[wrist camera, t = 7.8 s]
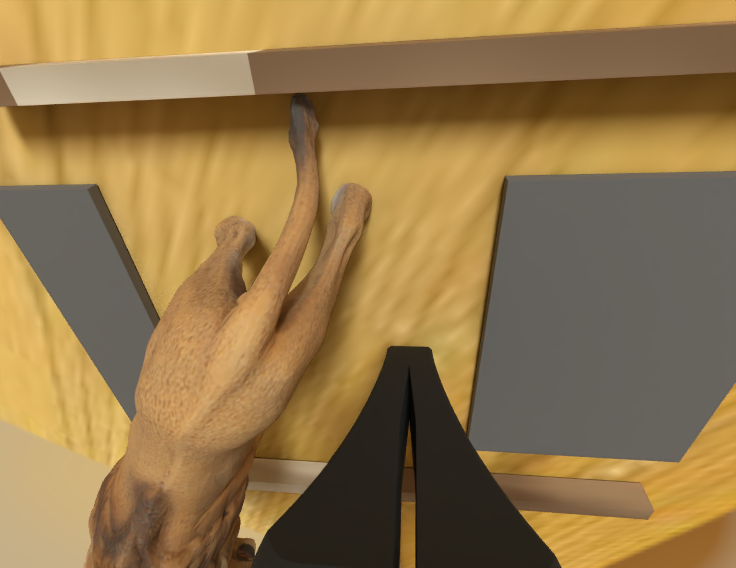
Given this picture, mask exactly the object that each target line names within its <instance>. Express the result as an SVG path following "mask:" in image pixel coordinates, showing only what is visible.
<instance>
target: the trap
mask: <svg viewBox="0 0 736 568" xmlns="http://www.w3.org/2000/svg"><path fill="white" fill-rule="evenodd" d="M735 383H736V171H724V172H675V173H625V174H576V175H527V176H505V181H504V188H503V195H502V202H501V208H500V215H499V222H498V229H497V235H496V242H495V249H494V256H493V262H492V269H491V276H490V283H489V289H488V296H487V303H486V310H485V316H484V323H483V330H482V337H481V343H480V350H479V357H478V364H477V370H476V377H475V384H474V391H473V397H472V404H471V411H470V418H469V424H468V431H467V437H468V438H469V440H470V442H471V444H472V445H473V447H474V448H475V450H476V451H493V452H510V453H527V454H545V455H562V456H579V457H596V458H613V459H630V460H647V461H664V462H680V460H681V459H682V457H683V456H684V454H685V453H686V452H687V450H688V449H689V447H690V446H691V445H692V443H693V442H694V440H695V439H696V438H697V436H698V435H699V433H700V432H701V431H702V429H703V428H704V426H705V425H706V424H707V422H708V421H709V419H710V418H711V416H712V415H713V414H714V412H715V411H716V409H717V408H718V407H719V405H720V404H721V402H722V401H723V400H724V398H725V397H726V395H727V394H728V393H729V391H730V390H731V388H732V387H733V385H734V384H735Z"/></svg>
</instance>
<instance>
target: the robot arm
mask: <svg viewBox="0 0 736 568" xmlns="http://www.w3.org/2000/svg"><path fill="white" fill-rule="evenodd" d="M409 420H410V432H411V444H412V457H413V469H414V481H415V501H416V521H415V568H561V566H560V564H559V562H558V560H557V558H556V556H555V554H554V553H553V552H552V551H551V550H550V549H549V547H548V546H547V545H546V544H545V543H544V542H543V541H542V539H541V538H540V537H539V536H538V535H537V533H536V532H535V531H534V530H533V529H532V527H531V526H530V525H529V524H528V523H527V521H526V520H525V519H524V518H523V516H522V515H521V514H520V513H519V511H518V510H517V509H516V507H515V506H514V505H513V504H512V502H511V501H510V500H509V498H508V497H507V496H506V494H505V493H504V491H503V490H502V489H501V487H500V486H499V484H498V483H497V482H496V480H495V479H494V478H493V476H492V475H491V473H490V472H489V470H488V469H487V467H486V466H485V464H484V463H483V461H482V460H481V458H480V457H479V455H478V453H477V452H476V450H475V448H474V447H473V445H472V444H471V442H470V440H469V438H468V437H467V435H466V433H465V431H464V430H463V428H462V426H461V424H460V422H459V420H458V418H457V416H456V414H455V412H454V410H453V408H452V406H451V404H450V402H449V399H448V397H447V395H446V393H445V390H444V388H443V386H442V383H441V380H440V378H439V375H438V372H437V369H436V366H435V363H434V359H433V354H432V350H431V349H430V348H429V347H410V346H390V347H389V348H388V349H387V354H386V357H385V361H384V364H383V366H382V369H381V372H380V374H379V377H378V379H377V381H376V383H375V385H374V388H373V390H372V392H371V394H370V396H369V398H368V400H367V402H366V404H365V406H364V407H363V409H362V411H361V413H360V415H359V417H358V418H357V420H356V422H355V423H354V425H353V427H352V428H351V430H350V432H349V433H348V435H347V436H346V438H345V439H344V441H343V442H342V444H341V445H340V447H339V448H338V449H337V451H336V452H335V454H334V455H333V456H332V458H331V459H330V461H329V462H328V463H327V465H326V466H325V467H324V468H323V470H322V471H321V472H320V474H319V475H318V476H317V477H316V478H315V480H314V481H313V482H312V483H311V484H310V485H309V487H308V488H307V489H306V490H305V491H304V493H303V494H302V495H301V496H300V497H299V498H298V499H297V501H296V502H295V503H294V504H293V505H292V506H291V507H290V508H289V509H288V510H287V511H286V512H285V513H284V514H283V515H282V516H281V517H280V518H279V519H278V521H277V522H276V523H275V524H274V525H273V526H272V527H271V528H270V529H269V530H268V531H267V533H266V535H265V536H264V538H263V541H262V542H261V544H260V546H259V548H258V551H257V553H256V555H255V557H254V560H253V563H252V565H251V567H250V568H400V536H401V497H402V483H403V474H404V464H405V455H406V446H407V436H408V427H409Z"/></svg>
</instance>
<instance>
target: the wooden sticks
mask: <svg viewBox="0 0 736 568" xmlns="http://www.w3.org/2000/svg"><path fill="white" fill-rule="evenodd" d="M729 72H736V21H729V22H712V23H696V24H679V25H663V26H646V27H630V28H613V29H597V30H580V31H564V32H547V33H531V34H514V35H498V36H481V37H465V38H448V39H432V40H415V41H399V42H382V43H366V44H349V45H333V46H316V47H299V48H283V49H266V50H250V51H233V52H217V53H200V54H184V55H167V56H151V57H134V58H118V59H101V60H85V61H68V62H52V63H35V64H19V65H2V66H0V107H4V106H25V105H46V104H68V103H89V102H110V101H132V100H153V99H174V98H196V97H217V96H238V95H260V94H281V93H302V92H324V91H345V90H366V89H388V88H409V87H430V86H452V85H473V84H494V83H516V82H537V81H558V80H580V79H601V78H622V77H644V76H665V75H687V74H708V73H729ZM326 465H327V463H324V462H309V461H293V460H278V459H263V458H254V460H253V463H252V466H251V468H250V471H249V472H248V478H249V483H248V487H247V489H246V490H259V491H272V492H285V493H299V494H303V493H304V491H305V490H306V489H307V488H308V487H309V485H310V484H311V483H312V482H313V481H314V480H315V478H316V477H317V476H318V475H319V474H320V472H321V471H322V470H323V468H324V467H325V466H326ZM491 475H492V476H493V478H494V479H495V480H496V482H497V483H498V484H499V486H500V487H501V489H502V490H503V491H504V493H505V494H506V496H507V497H508V498H509V500H510V501H511V502H512V504H513V505H514V506H515V507H516V509H517V510H526V511H539V512H553V513H566V514H579V515H593V516H606V517H620V518H633V519H646V520H648V519H649V517H650V516H651V515H652V513H653V512H654V509H653V507H652V505H651V503H650V501H649V499H648V496H647V494H646V492H645V490H644V488H643V486H642V484H641V483H632V482H617V481H602V480H586V479H571V478H555V477H540V476H525V475H509V474H494V473H491ZM401 501H406V502H416V501H415V481H414V469H413V468H404V474H403V483H402V497H401Z"/></svg>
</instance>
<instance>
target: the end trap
mask: <svg viewBox="0 0 736 568" xmlns="http://www.w3.org/2000/svg"><path fill="white" fill-rule="evenodd" d="M0 218H1V220H2V222H3V223H4V225H5V226H6V228H7V229H8V231H9V232H10V234H11V236H12V237H13V239H14V240H15V242H16V243H17V245H18V246H19V248H20V249H21V251H22V253H23V254H24V256H25V257H26V259H27V260H28V262H29V263H30V265H31V267H32V268H33V270H34V271H35V273H36V274H37V276H38V277H39V279H40V281H41V282H42V284H43V285H44V287H45V288H46V290H47V291H48V293H49V294H50V296H51V298H52V299H53V301H54V302H55V304H56V305H57V307H58V308H59V310H60V312H61V313H62V315H63V316H64V318H65V319H66V321H67V322H68V324H69V325H70V327H71V329H72V330H73V332H74V333H75V335H76V336H77V338H78V339H79V341H80V343H81V344H82V346H83V347H84V349H85V350H86V352H87V353H88V355H89V356H90V358H91V360H92V361H93V363H94V364H95V366H96V367H97V369H98V370H99V372H100V374H101V375H102V377H103V378H104V380H105V381H106V383H107V384H108V386H109V387H110V389H111V391H112V392H113V394H114V395H115V397H116V398H117V400H118V401H119V403H120V405H121V406H122V408H123V409H124V411H125V412H126V414H127V415H128V417H129V418H130V420H131V422H132V421H133V419H134V417H135V415H136V413H137V411H136V406H135V391H136V387H137V384H138V381H139V377H140V373H141V370H142V366H143V362H144V358H145V353H146V349H147V345H148V343H149V340H150V338H151V335H152V334H153V332H154V330H155V328H156V326H157V325H158V323H159V321H160V319H159V317H158V315H157V313H156V311H155V309H154V307H153V304H152V302H151V300H150V298H149V296H148V294H147V292H146V289H145V287H144V285H143V283H142V281H141V279H140V277H139V274H138V272H137V270H136V268H135V266H134V264H133V262H132V259H131V257H130V255H129V253H128V251H127V249H126V247H125V244H124V242H123V240H122V238H121V236H120V234H119V232H118V230H117V227H116V225H115V223H114V221H113V219H112V217H111V215H110V212H109V210H108V208H107V206H106V204H105V202H104V200H103V197H102V195H101V193H100V191H99V189H98V187H97V185H96V184H84V185H34V186H0Z"/></svg>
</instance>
